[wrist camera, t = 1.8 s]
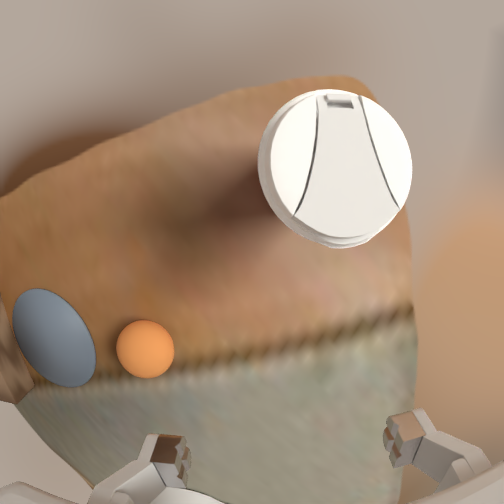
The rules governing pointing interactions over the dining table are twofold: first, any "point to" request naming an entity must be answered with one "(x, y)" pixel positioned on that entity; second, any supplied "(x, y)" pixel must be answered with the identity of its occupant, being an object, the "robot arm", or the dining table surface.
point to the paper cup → (334, 167)
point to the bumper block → (11, 364)
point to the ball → (145, 349)
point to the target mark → (54, 338)
